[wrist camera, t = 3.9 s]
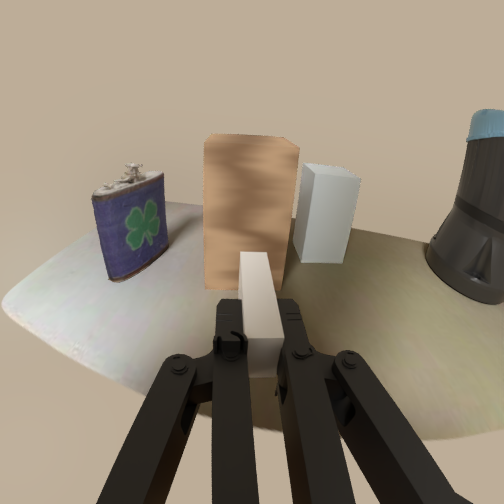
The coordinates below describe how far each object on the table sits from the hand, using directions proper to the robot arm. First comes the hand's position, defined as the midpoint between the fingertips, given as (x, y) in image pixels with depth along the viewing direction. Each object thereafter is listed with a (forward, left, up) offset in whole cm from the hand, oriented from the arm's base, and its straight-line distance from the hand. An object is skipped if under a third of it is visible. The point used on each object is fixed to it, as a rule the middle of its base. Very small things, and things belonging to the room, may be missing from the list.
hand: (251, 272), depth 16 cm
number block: (-9, -14, -6) cm, 18 cm away
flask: (+11, -11, -7) cm, 17 cm away
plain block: (0, -10, -6) cm, 12 cm away
